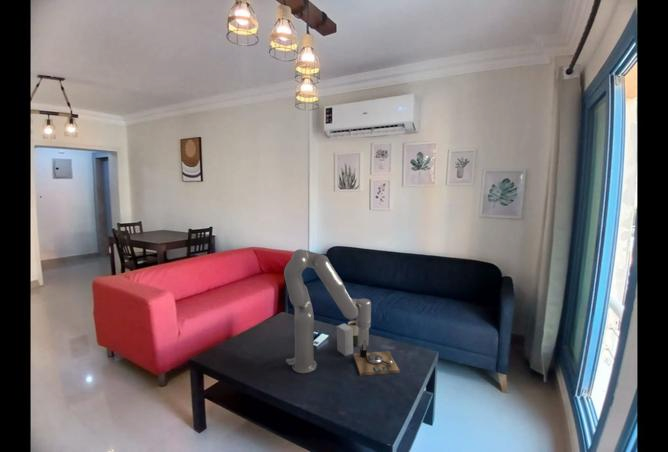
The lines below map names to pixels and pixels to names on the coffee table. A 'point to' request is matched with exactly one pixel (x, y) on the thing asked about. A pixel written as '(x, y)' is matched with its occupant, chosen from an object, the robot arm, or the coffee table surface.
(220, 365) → the coffee table surface
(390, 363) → the cam capstan
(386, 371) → the stand
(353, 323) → the character mug
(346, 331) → the skincare box
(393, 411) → the coffee table surface
